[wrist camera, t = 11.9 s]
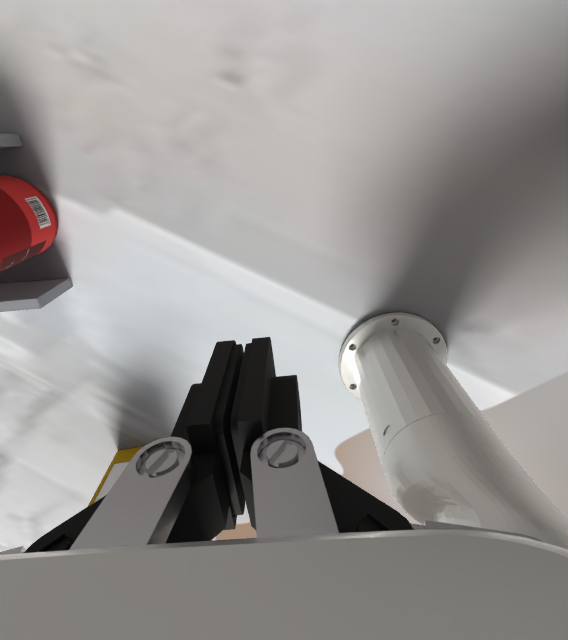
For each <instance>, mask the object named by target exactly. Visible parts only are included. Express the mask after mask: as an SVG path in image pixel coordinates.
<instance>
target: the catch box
mask: <svg viewBox="0 0 568 640" xmlns="http://www.w3.org/2000/svg"><path fill="white" fill-rule="evenodd" d="M19 146H23V144H22V141H21V138H20V136H19V134H0V148H9V147H19ZM71 287H73V286H72V283H71V280H70V278H63V279H51V280H40V281H29V282H18V283H6V284H0V312H5V311H16V310H28V309H39V308H42V307H43V306H45V305H46V304H48V303H49V302H51V301H52V300H54V299H55V298H57V297H58V296H60V295H61V294H62V293H64V292H65V291H67V290H68V289H70V288H71Z"/></svg>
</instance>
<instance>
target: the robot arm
mask: <svg viewBox="0 0 568 640" xmlns="http://www.w3.org/2000/svg"><path fill="white" fill-rule="evenodd" d="M393 319H395V320H393ZM392 320H393V321H392ZM350 344H352V345H350ZM446 363H447V348H446V343H445V341H444V339H443V337H442V335H441V334H440V332H439V331H438V330H437V329H436V328H435V327H434V326H433V325H432V324H431V323H430V322H429V321H427V320H425V319H424V318H422V317H420V316H417V315H414V314H409V313H402V312H398V313H387V314H382V315H379V316H376V317H374V318H371V319H369V320H367V321H366V322H364V323H362V324H361V325H359V326H358V327H357V328H356V329H355V330H354V331H353V332H352V333H351V334H350V335H349V336H348V338H347V339H346V341H345V343H344V344H343V346H342V349H341V352H340V355H339V370H340V375H341V378H342V381H343V383H344V385H345V387H346V388H347V390H348V391H349V392H350V393H351V394H352V395H353V396H355V397H356V398H357V399H359V400H361V401H362V403H363V406H364V409H365V413H366V416H367V419H368V422H369V426H370V429H371V432H372V435H373V439H374V442H375V445H376V448H377V452H378V455H379V458H380V461H381V464H382V468H383V471H384V473H385V477H386V480H387V483H388V486H389V488H390V491H391V493H392V495H393V496H394V498H395V500H396V501H397V503H398V504H399V505H400V506H401V507H402V509H403V510H404V511H405V512H406V513H408V515H410V516H411V517H412V518H413V519H414V520H416V521H417V522H419V523H420V524H422V525H418V524H411V523H409V521H408V520H407V519H406V518H405V517H403V516H402V515H401V514H400V513H399V512H397V511H396V510H394V509H393V508H391V507H389V506H388V505H386V504H385V503H383V502H382V501H380V500H378V499H377V498H375V497H374V496H372V495H371V494H369V493H367V492H366V491H364V490H363V489H361V488H360V487H358V486H357V485H355V484H353V483H352V482H350V481H349V480H347V479H346V478H344V477H342V476H341V475H339V474H338V473H336V472H335V471H333V470H331V469H330V468H328V467H327V466H325V465H324V464H322V463H320V462H319V461H317V457H316V454H315V451H314V447H313V444H312V442H311V440H310V438H309V437H308V436H307V435H306V434H305V433H303V432H302V424H301V410H300V399H299V390H298V381H297V375H291V376H280V377H276V374H275V367H274V359H273V352H272V345H271V339H270V337H265V338H254V339H252V343H249V344H246V347H245V352H243V347H242V344H238V345H236V342H235V340H233V341H222V342H217V343H216V345H215V348H214V351H213V354H212V356H211V359H210V362H209V364H208V367H207V370H206V373H205V375H204V378H203V381H202V383H200V384H193V385H192V386H191V388H190V390H189V393H188V395H187V398H186V400H185V403H184V405H183V408H182V410H181V412H180V415H179V417H178V420H177V422H176V425H175V427H174V430H173V432H172V434H171V437H165V438H161V439H158V440H155V441H153V442H151V443H149V444H147V445H145V446H144V447H143V448H141V449H140V450H139V451H138V452H137V453H136V454H135V455H134V456H133V458H132V459H131V461H130V462H129V463H128V465H127V466H126V468H125V469H124V471H123V472H122V474H121V475H120V477H119V478H118V479H117V481H116V482H115V484H114V485H113V487H112V488H111V490H110V491H109V492H108V494H107V495H105V496H104V497H102V498H101V499H99V500H98V501H96V502H95V503H93V504H91V505H90V506H88V507H87V508H85V509H84V510H82V511H81V512H79V513H78V514H76V515H74V516H73V517H71V518H70V519H68V520H67V521H65V522H64V523H62V524H60V525H59V526H57V527H56V528H54V529H53V530H51V531H50V532H48V533H47V534H45V535H43V536H42V537H41V538H39V539H38V540H37V541H36V542H34V543H33V544H32V545H31V546H30V547H29V548H28V549H27V550H25V549H24V547H23V546H22V547H18V548H14V549H11V550H7V551H3V552H0V640H568V518H567V516H566V515H565V514H563V512H562V511H561V510H560V509H559V508H558V507H557V506H556V505H555V504H554V503H553V502H552V501H551V500H550V499H549V498H548V496H547V495H546V494H545V493H544V492H543V491H542V490H541V489H540V488H539V487H538V485H537V484H535V482H534V481H533V480H532V479H531V477H530V476H529V475H528V474H527V472H526V471H525V470H524V469H523V467H522V466H521V465H520V464H519V462H518V461H517V460H516V459H515V457H514V456H513V455H512V453H511V452H510V451H509V450H508V448H507V447H506V446H505V444H504V443H503V442H502V440H501V439H500V438H499V436H498V435H497V434H496V432H495V431H494V430H493V428H492V427H491V426H490V424H489V423H488V421H487V420H486V419H485V417H484V416H483V415H482V413H481V412H480V411H479V409H478V408H477V407H476V405H475V404H474V402H473V401H472V400H471V398H470V397H469V396H468V394H467V393H466V392H465V390H464V389H463V388H462V386H461V385H460V383H459V382H458V381H457V379H456V378H455V377H454V375H453V374H452V373H451V371H450V370H449V369H448V367H447V366H446ZM245 500H246V505H247V509H248V513H249V517H250V522H251V526H252V527H253V528H254V529H255V530H256V532H257V538H247V539H231V540H216V536H217V535H218V534H219V533H220V532H221V531H222V530H229V529H235V526H236V518H237V515H243V513H244V508H245Z"/></svg>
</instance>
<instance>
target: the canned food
mask: <svg viewBox="0 0 568 640" xmlns="http://www.w3.org/2000/svg"><path fill="white" fill-rule="evenodd" d="M57 228H58V226H57V218H56V214H55V212H54V209H53V207H52V205H51V204H50V202H49V201H48V199H47V198H46V197H45V196H44V195H43V193H42V192H41V191H39V190H38V189H37V188H36V187H35V186H33V185H31V184H30V183H28V182H26V181H24V180H22V179H19V178H16V177H12V176H8V175H0V272H1V271H3V270H5V269H7V268H10V267H12V266H14V265H16V264H18V263H20V262H23V261H25V260H27V259H29V258H31V257H33V256H35V255H38V254H40V253H42V252H44V251H45V250H46V249H48V248H49V247H50V245H51V244H52V243H53V241H54V239H55V237H56V234H57Z"/></svg>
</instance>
